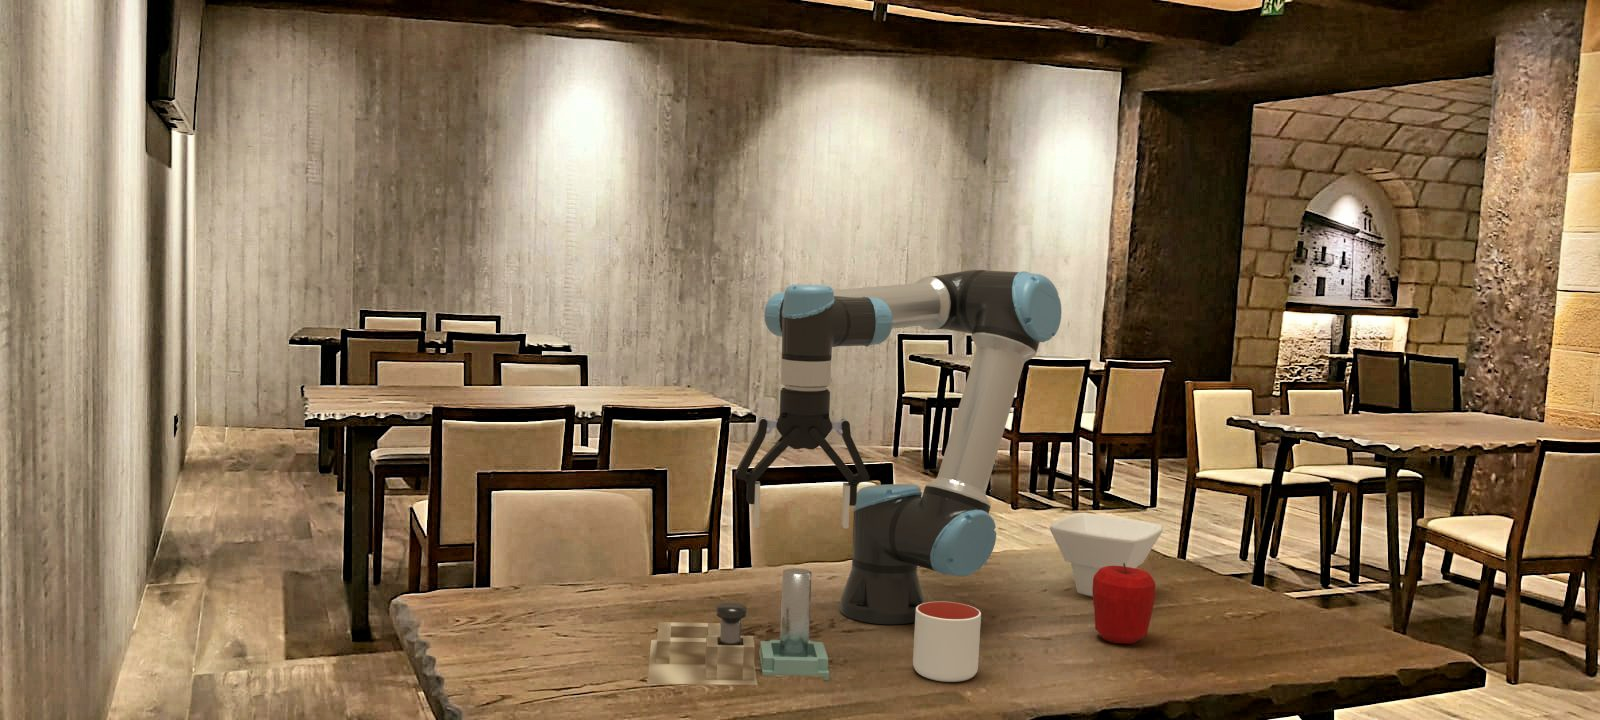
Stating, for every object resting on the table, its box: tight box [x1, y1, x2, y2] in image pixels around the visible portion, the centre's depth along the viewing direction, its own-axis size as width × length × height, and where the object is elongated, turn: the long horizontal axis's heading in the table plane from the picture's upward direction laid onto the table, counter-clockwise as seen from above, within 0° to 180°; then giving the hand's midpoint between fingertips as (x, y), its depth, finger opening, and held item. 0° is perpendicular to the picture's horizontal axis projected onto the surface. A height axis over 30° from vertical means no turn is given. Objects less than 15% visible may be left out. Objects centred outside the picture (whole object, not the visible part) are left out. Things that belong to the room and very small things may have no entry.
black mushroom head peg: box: [716, 602, 747, 645], centre depth 190 cm, size 4×4×9 cm
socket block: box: [646, 621, 758, 686], centre depth 196 cm, size 16×20×6 cm
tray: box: [758, 639, 830, 681], centre depth 197 cm, size 10×10×3 cm
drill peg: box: [779, 567, 813, 657], centre depth 196 cm, size 4×4×14 cm
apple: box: [1092, 563, 1156, 644], centre depth 218 cm, size 10×10×14 cm
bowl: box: [1049, 512, 1164, 597], centre depth 247 cm, size 19×19×14 cm
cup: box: [912, 601, 982, 683], centre depth 198 cm, size 10×10×10 cm
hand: (800, 526), depth 195 cm, fingers open, 13 cm apart
